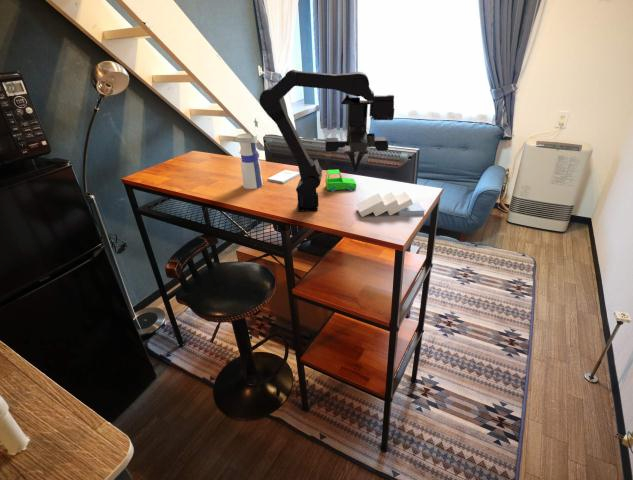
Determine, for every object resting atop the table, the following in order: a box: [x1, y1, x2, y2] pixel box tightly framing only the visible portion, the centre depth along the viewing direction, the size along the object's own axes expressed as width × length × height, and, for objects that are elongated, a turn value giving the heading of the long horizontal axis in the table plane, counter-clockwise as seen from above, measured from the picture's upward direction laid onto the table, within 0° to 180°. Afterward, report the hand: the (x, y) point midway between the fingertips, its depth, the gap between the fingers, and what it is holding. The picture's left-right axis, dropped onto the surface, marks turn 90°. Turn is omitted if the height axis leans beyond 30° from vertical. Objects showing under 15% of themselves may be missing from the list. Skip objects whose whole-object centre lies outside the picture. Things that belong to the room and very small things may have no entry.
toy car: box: [325, 168, 357, 192], centre depth 129 cm, size 11×7×7 cm, turn 95°
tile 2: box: [373, 192, 399, 217], centre depth 110 cm, size 2×6×8 cm
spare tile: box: [396, 202, 425, 217], centre depth 112 cm, size 2×6×8 cm
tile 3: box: [386, 191, 414, 216], centre depth 111 cm, size 2×6×8 cm
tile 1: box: [355, 192, 385, 218], centre depth 110 cm, size 2×6×8 cm
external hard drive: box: [266, 169, 300, 185], centre depth 142 cm, size 2×8×12 cm
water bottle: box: [234, 117, 264, 190], centre depth 129 cm, size 8×8×25 cm
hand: (354, 171), depth 108 cm, fingers closed
